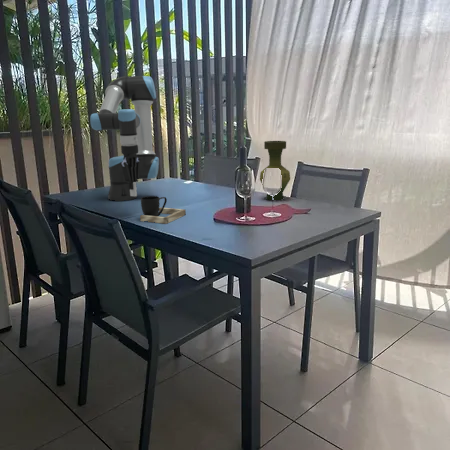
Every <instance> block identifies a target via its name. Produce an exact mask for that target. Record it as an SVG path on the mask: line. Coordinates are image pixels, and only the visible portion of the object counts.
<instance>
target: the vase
mask: <svg viewBox="0 0 450 450" xmlns="http://www.w3.org/2000/svg"><path fill="white" fill-rule="evenodd" d="M263 143H264V145H263V146H264V147H263V148H264V150H267V152H268V160H269V161H268V164H269V165H267V166H266V167H265V168H264V169H262V170H261V171H260V175H259V181H260V183H261V184H262V179H263V173H264V170H265V169H266V168H279V169H280V170H281V175H282V188H281V191H280V192H279V193H278V194H277V195H275V196H274V197H273V198H274V200H279V201H282V200H281V199H283V198H284V191H285V189H286V188H287V186H288V184H289V183H290V181H291V174H290V170H289V169H287V168H286V167H284V166H283V165H282V155H283V154H282V153H283V150H285V149H287V141H286V140H266V141H264V142H263ZM265 199H266V201H271V200H272V196H270V195H268V194H267V193H266V198H265ZM283 200H284V199H283Z"/></svg>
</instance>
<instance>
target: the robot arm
mask: <svg viewBox="0 0 450 450" xmlns="http://www.w3.org/2000/svg"><path fill="white" fill-rule="evenodd" d="M156 92H157V91H156V88H155V83H154V79H153V78H152V76H148V75H138V76H137V75H134V76H133V75H132V76H131V75H130V76H127V75H126V76H119V77H117V78H116V79H114V80H112V81H111V82H110V83H109V84H108V85H107V86H106V88H105V91H104V95H105V96H104V99H103V101H102V104H101V106H100V108H99V111H98V113H97V112H95V113H91V114H90V116H89V118H90V119H89V120H90V121H89V122H90V126H91V129H92V130H95V131H109V130H111V131H112V130H114V131H115V130H117V131H118V130H119V141H120V145H121V146H120V149H121V154H122V155H119V156H118V155H117V156H113V157H110V158H109V159H108V171H109V174H108V175H109V183H110V185H109V191H108V193H107V195H108V196H107V198H108V200H109V199H110V200H109V201H112V200H115V201H114V202H124V200H126V201H132V200H134V199H137V196H138V193H137V191H138V189H137V187H138V186H137V182H139V180H149V179H150V180H152V179H156V178H157V177H158V173H159V165H160V159H159V157H158V156H156V155H157V154H156V153H155V152H154V149H153V131H152V130H153V129H152V128H153V127H152V108H151V106H152V104H153V103H154V100H155V99H157V93H156ZM123 100H130V101H131V104H132V105H133V106H134V107H133V108H134V109H133V108H132V109H131V108H130V109H129V108H127V109H126V108H125V109H124V108H123V109H119V110H118V108H119V106H120V103H121V102H122V101H123Z"/></svg>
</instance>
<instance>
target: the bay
mask: <svg viewBox="0 0 450 450" xmlns="http://www.w3.org/2000/svg"><path fill="white" fill-rule="evenodd" d="M162 207H163V206H162ZM162 207H161V206H159V212H160V211H161V209H162ZM186 213H187V210H186V209H183V208H172V207H171V208H170V207H164V209H163V211H162V213H161V214H165V215H167V216H160V215H159V216H148V215H144V214H141V215H140V219H139V220H140V222H144V221H148V222H147V223H154V222H155V224H166V225H167V224H169V223H172V222H173V221H176V220H178V219H180V218H182V217H184V216H186Z"/></svg>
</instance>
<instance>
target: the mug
mask: <svg viewBox="0 0 450 450" xmlns="http://www.w3.org/2000/svg"><path fill="white" fill-rule="evenodd" d="M161 199H164V202H163V204H162V209H161V211H160V212H159V208H160V206H161V205H160V201H161ZM167 200H168V199H167V197H166V196H162V197H159V196H157V195H147V196H146V195H145V196H142V197H140V206H141V211H142V213H143V214H142V215H148V216H159V217H160V215H162V214H163V213H162V211H163V209H164V208H166V204H167Z"/></svg>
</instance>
